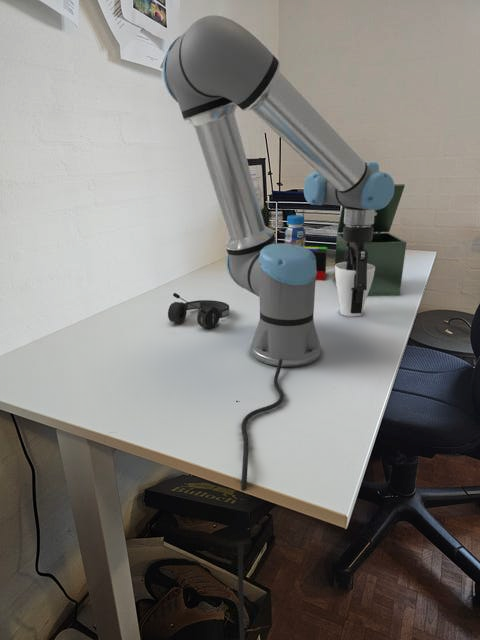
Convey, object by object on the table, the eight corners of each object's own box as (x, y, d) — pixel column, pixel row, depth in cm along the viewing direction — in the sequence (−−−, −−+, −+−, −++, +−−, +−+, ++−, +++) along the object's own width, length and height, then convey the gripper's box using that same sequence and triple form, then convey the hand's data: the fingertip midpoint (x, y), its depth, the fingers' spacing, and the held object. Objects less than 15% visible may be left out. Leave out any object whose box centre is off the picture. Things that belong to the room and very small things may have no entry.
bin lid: (405, 185, 122) (399, 170, 127) (346, 186, 123) (343, 171, 128) (389, 232, 137) (384, 216, 142) (337, 232, 138) (334, 217, 143)
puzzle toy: (296, 278, 147) (297, 251, 143) (299, 272, 156) (300, 246, 152) (324, 280, 145) (326, 252, 141) (325, 273, 154) (327, 247, 150)
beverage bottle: (283, 263, 170) (284, 214, 163) (303, 262, 170) (305, 214, 163) (284, 267, 162) (285, 217, 155) (305, 267, 162) (307, 217, 155)
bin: (399, 295, 127) (406, 242, 121) (343, 295, 128) (347, 242, 122) (383, 280, 143) (388, 232, 137) (333, 280, 144) (337, 233, 138)
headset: (155, 290, 101) (197, 279, 118) (156, 327, 103) (196, 311, 121) (201, 297, 95) (238, 284, 113) (201, 335, 98) (237, 317, 115)
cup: (372, 320, 107) (378, 271, 102) (332, 319, 109) (336, 270, 104) (367, 307, 117) (372, 262, 112) (330, 306, 118) (333, 261, 113)
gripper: (386, 232, 93) (376, 321, 101) (362, 219, 114) (355, 293, 122) (353, 232, 94) (346, 321, 102) (336, 219, 115) (331, 294, 123)
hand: (351, 306), depth 112 cm, fingers closed on cup, 10 cm apart
